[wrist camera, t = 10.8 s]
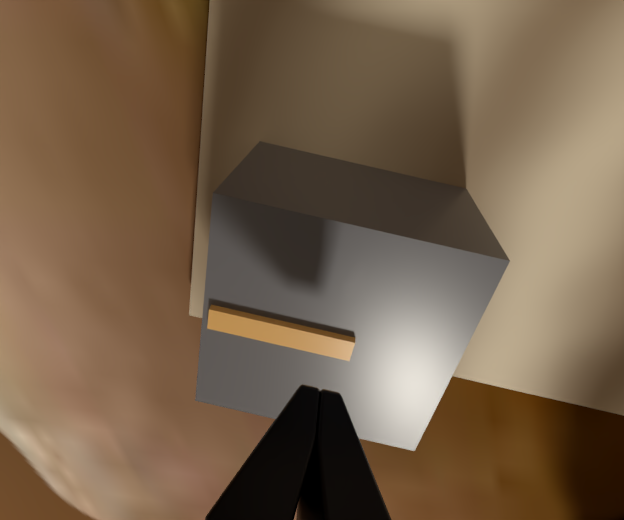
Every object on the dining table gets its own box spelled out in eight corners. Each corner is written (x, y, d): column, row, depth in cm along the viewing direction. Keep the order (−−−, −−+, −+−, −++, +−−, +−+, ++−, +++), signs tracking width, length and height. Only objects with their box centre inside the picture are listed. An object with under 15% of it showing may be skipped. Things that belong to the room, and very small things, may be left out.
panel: (1284, -389, 7) (1407, -445, 6) (628, 400, 17) (642, 419, 16) (269, -623, 7) (256, -708, 6) (198, 300, 17) (189, 315, 16)
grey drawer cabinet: (466, 188, 13) (513, 265, 9) (402, 346, 16) (415, 457, 12) (259, 141, 13) (210, 195, 9) (237, 308, 16) (192, 406, 12)
